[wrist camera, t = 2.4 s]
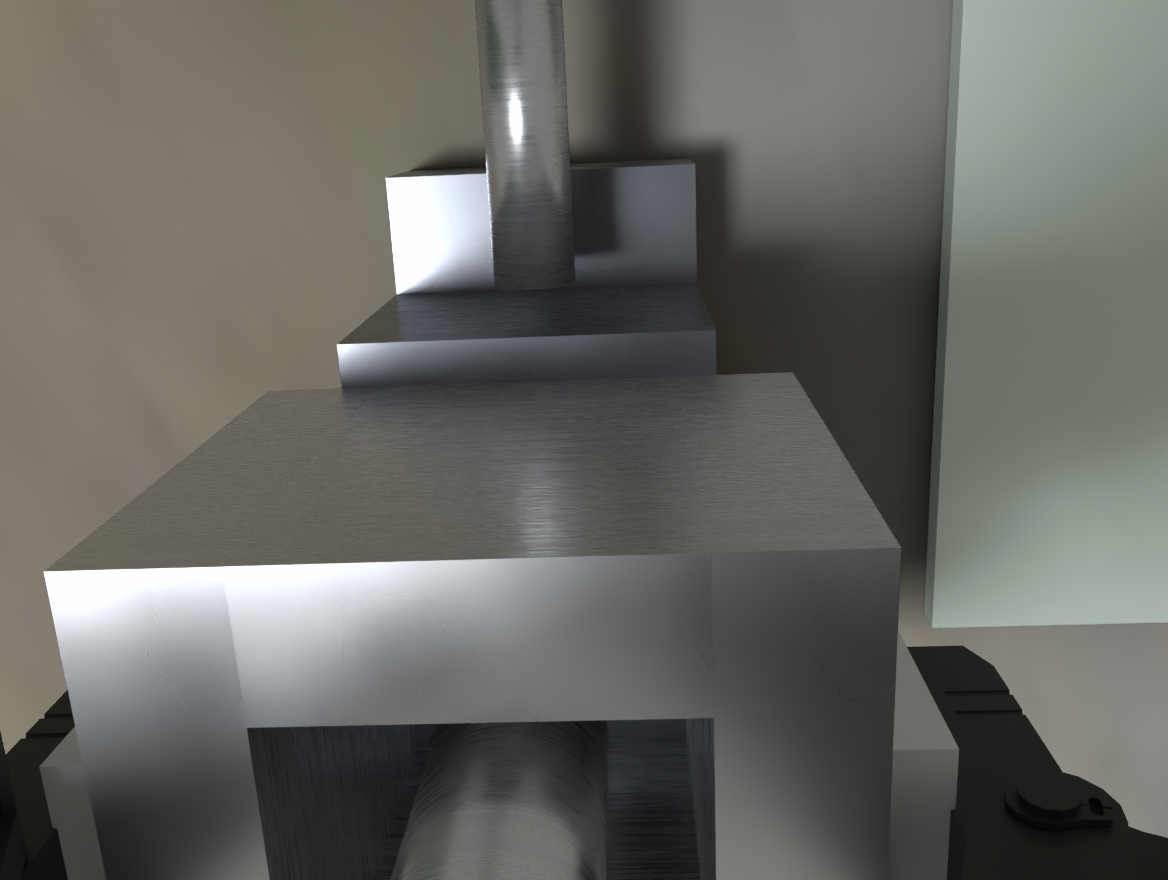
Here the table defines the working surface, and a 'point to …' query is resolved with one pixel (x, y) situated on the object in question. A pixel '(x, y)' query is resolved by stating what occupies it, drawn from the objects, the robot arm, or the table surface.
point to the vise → (528, 354)
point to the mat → (1052, 319)
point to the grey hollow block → (490, 626)
